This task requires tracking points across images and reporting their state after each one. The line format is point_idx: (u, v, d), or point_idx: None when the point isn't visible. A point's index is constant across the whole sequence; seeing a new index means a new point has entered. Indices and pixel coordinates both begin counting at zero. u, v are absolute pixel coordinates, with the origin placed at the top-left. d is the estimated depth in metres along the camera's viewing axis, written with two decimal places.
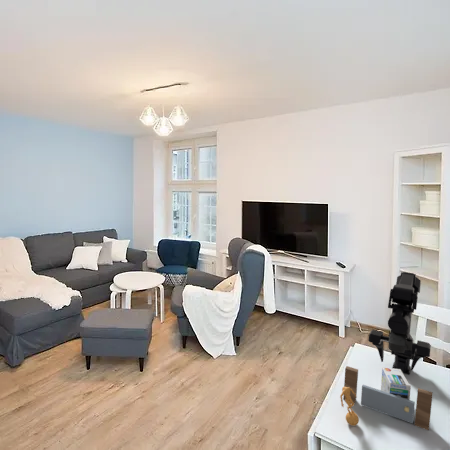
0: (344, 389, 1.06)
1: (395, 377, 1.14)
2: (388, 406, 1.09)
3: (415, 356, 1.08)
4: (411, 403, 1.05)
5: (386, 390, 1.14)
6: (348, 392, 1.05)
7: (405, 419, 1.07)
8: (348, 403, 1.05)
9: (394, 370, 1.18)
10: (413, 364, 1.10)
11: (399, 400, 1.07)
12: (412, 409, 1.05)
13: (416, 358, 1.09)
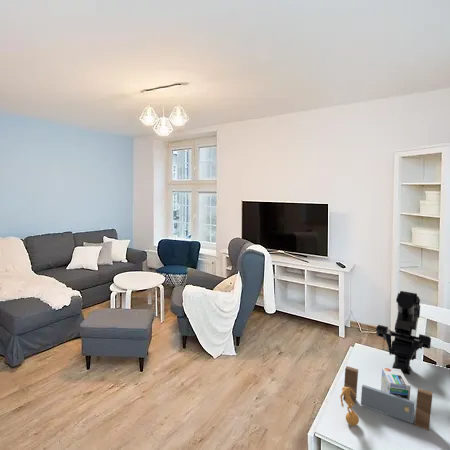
0: (344, 389, 1.06)
1: (395, 377, 1.14)
2: (388, 406, 1.09)
3: (414, 342, 1.23)
4: (411, 403, 1.05)
5: (386, 390, 1.14)
6: (348, 392, 1.05)
7: (405, 419, 1.07)
8: (348, 403, 1.05)
9: (394, 370, 1.18)
10: (411, 352, 1.22)
11: (399, 400, 1.07)
12: (412, 409, 1.05)
13: (414, 346, 1.23)
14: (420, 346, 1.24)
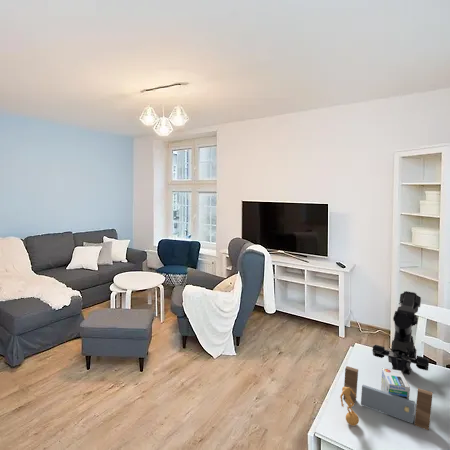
0: (344, 389, 1.06)
1: (394, 378, 1.13)
2: (388, 406, 1.09)
3: (401, 362, 1.20)
4: (411, 403, 1.05)
5: (385, 391, 1.13)
6: (348, 392, 1.05)
7: (405, 419, 1.07)
8: (348, 403, 1.05)
9: (394, 371, 1.17)
10: None
11: (399, 400, 1.07)
12: (412, 409, 1.05)
13: (402, 365, 1.20)
14: (408, 365, 1.21)
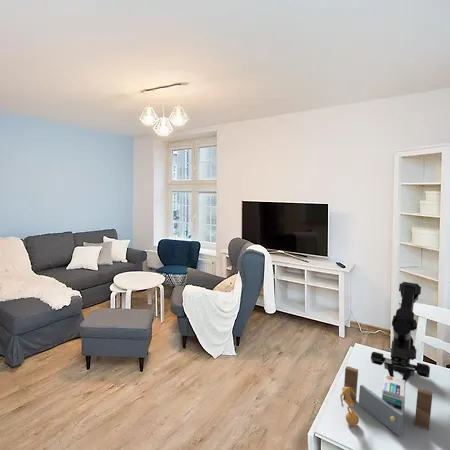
0: (344, 389, 1.06)
1: (392, 386, 1.09)
2: (379, 412, 1.07)
3: (405, 370, 1.15)
4: (398, 414, 1.00)
5: None
6: (348, 392, 1.05)
7: (392, 429, 1.02)
8: (348, 403, 1.05)
9: (396, 380, 1.12)
10: None
11: (388, 408, 1.03)
12: (398, 420, 1.00)
13: (406, 374, 1.14)
14: (412, 374, 1.16)
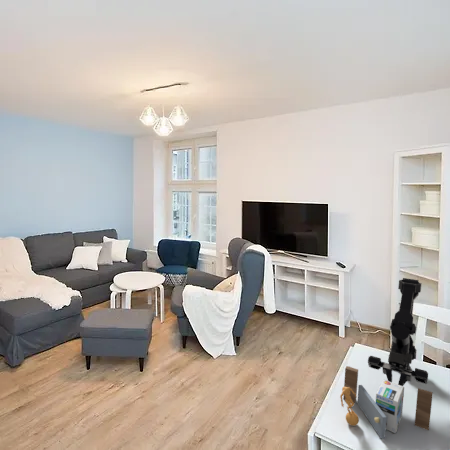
0: (344, 389, 1.06)
1: (388, 391, 1.06)
2: (369, 412, 1.06)
3: (401, 375, 1.12)
4: (381, 416, 0.99)
5: None
6: (348, 392, 1.05)
7: (377, 431, 1.01)
8: (348, 403, 1.05)
9: (394, 385, 1.09)
10: None
11: (375, 409, 1.03)
12: (381, 422, 0.99)
13: (402, 379, 1.12)
14: (408, 379, 1.13)
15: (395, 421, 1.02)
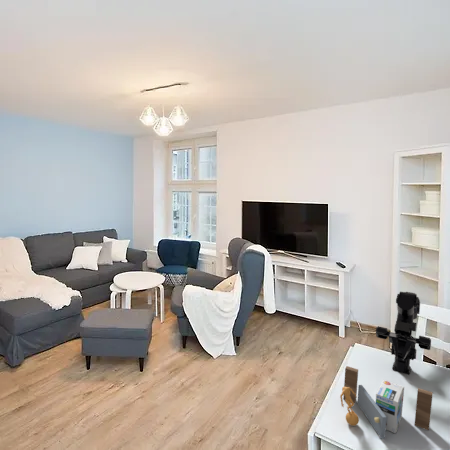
0: (344, 389, 1.06)
1: (388, 391, 1.06)
2: (369, 412, 1.06)
3: (407, 342, 1.23)
4: (381, 416, 0.99)
5: None
6: (348, 392, 1.05)
7: (377, 431, 1.01)
8: (348, 403, 1.05)
9: (394, 385, 1.09)
10: (404, 352, 1.22)
11: (375, 409, 1.03)
12: (381, 422, 0.99)
13: (407, 345, 1.23)
14: (413, 346, 1.24)
15: (395, 421, 1.02)
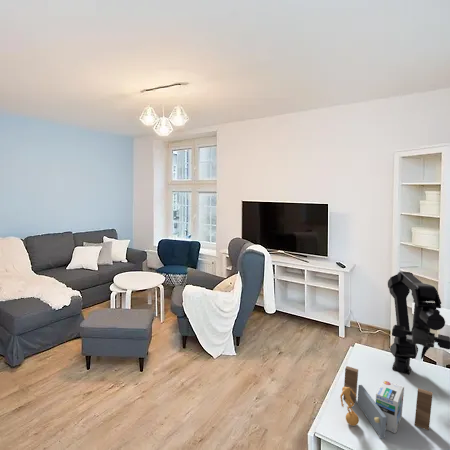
0: (344, 389, 1.06)
1: (388, 391, 1.06)
2: (369, 412, 1.06)
3: (425, 346, 1.19)
4: (381, 416, 0.99)
5: None
6: (348, 392, 1.05)
7: (377, 431, 1.01)
8: (348, 403, 1.05)
9: (394, 385, 1.09)
10: (423, 353, 1.21)
11: (375, 409, 1.03)
12: (381, 422, 0.99)
13: (426, 348, 1.20)
14: None
15: (395, 421, 1.02)
